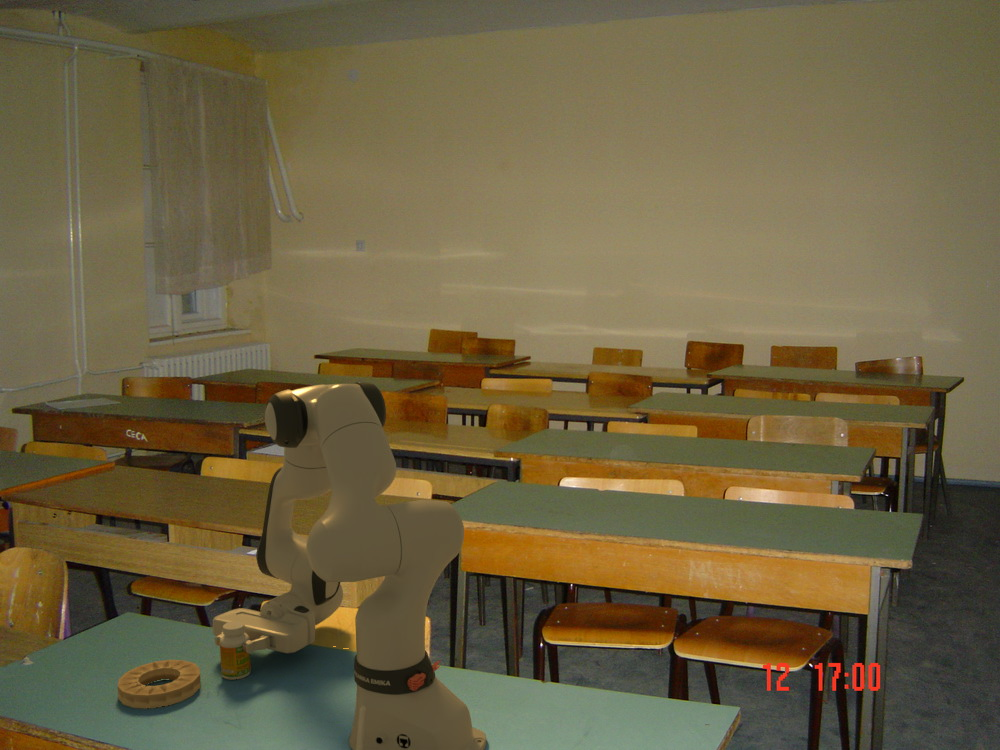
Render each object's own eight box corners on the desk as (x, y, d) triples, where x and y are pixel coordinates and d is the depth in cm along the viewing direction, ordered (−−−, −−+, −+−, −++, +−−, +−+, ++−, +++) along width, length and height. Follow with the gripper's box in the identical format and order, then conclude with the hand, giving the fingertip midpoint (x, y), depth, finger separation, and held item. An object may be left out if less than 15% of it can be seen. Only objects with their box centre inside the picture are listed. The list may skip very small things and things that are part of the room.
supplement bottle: (239, 682, 172) (236, 632, 171) (215, 677, 174) (212, 628, 173) (256, 670, 177) (254, 621, 176) (233, 665, 179) (231, 617, 178)
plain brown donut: (216, 681, 173) (216, 669, 172) (157, 715, 160) (156, 701, 160) (163, 666, 179) (162, 654, 179) (101, 697, 167) (100, 684, 166)
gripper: (241, 595, 191) (190, 619, 178) (320, 612, 181) (271, 639, 169) (242, 625, 191) (191, 651, 179) (321, 643, 182) (273, 672, 170)
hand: (231, 645), depth 174 cm, fingers closed on supplement bottle, 5 cm apart
